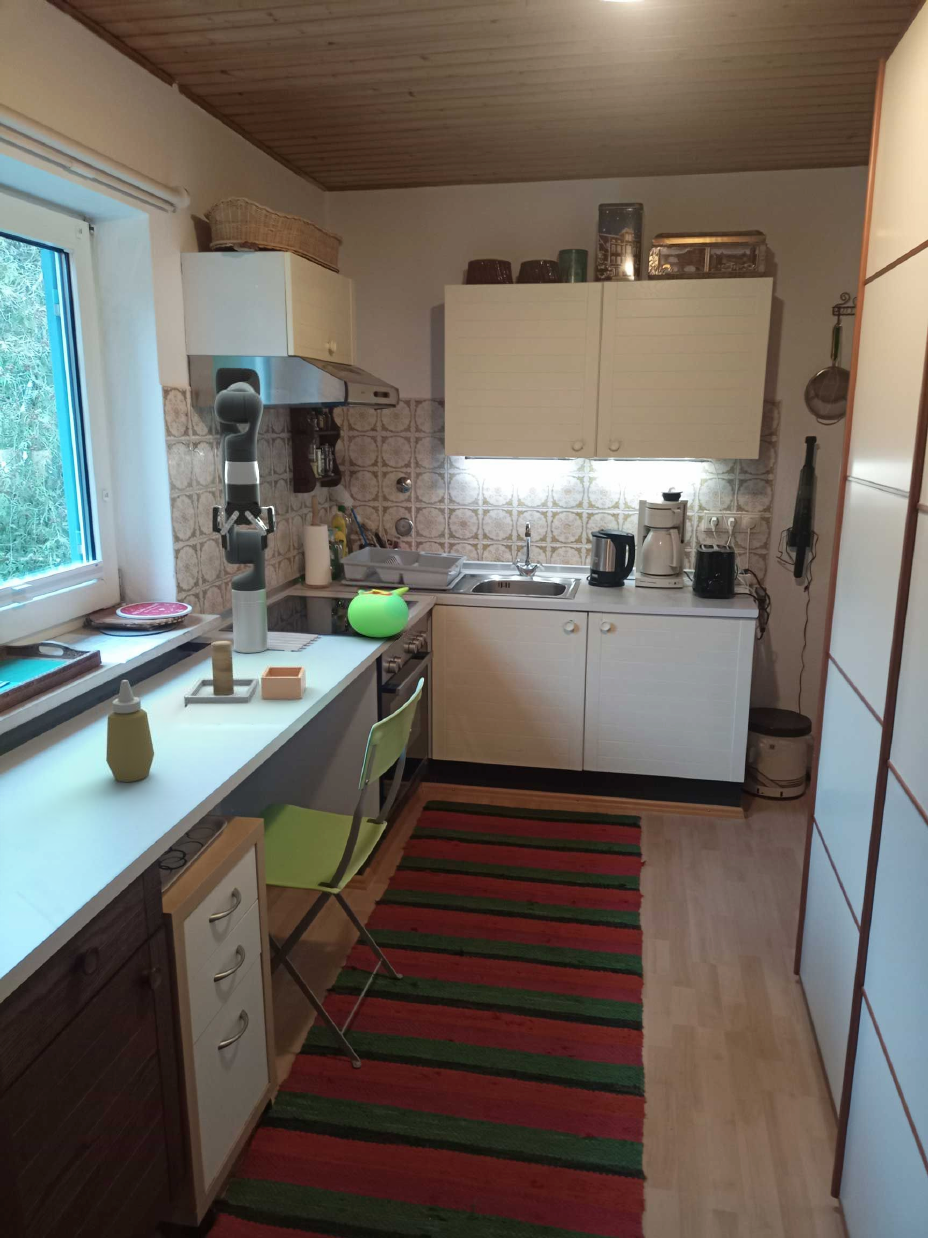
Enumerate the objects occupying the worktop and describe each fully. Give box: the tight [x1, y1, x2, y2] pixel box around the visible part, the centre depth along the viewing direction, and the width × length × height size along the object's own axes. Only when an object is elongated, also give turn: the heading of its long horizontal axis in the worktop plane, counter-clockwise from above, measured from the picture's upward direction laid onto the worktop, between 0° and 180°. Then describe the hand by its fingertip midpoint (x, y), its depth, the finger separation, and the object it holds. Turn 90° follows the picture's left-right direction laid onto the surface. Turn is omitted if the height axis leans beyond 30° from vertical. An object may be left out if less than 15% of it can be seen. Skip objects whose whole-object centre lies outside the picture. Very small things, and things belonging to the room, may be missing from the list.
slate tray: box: [184, 677, 260, 708], centre depth 200 cm, size 14×14×2 cm
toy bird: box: [347, 586, 410, 638], centre depth 256 cm, size 18×17×15 cm
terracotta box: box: [260, 666, 307, 700], centre depth 200 cm, size 9×9×6 cm
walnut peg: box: [210, 640, 235, 696], centre depth 199 cm, size 4×4×12 cm
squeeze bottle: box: [105, 679, 155, 783], centre depth 154 cm, size 8×8×18 cm
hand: (245, 550), depth 203 cm, fingers open, 8 cm apart
